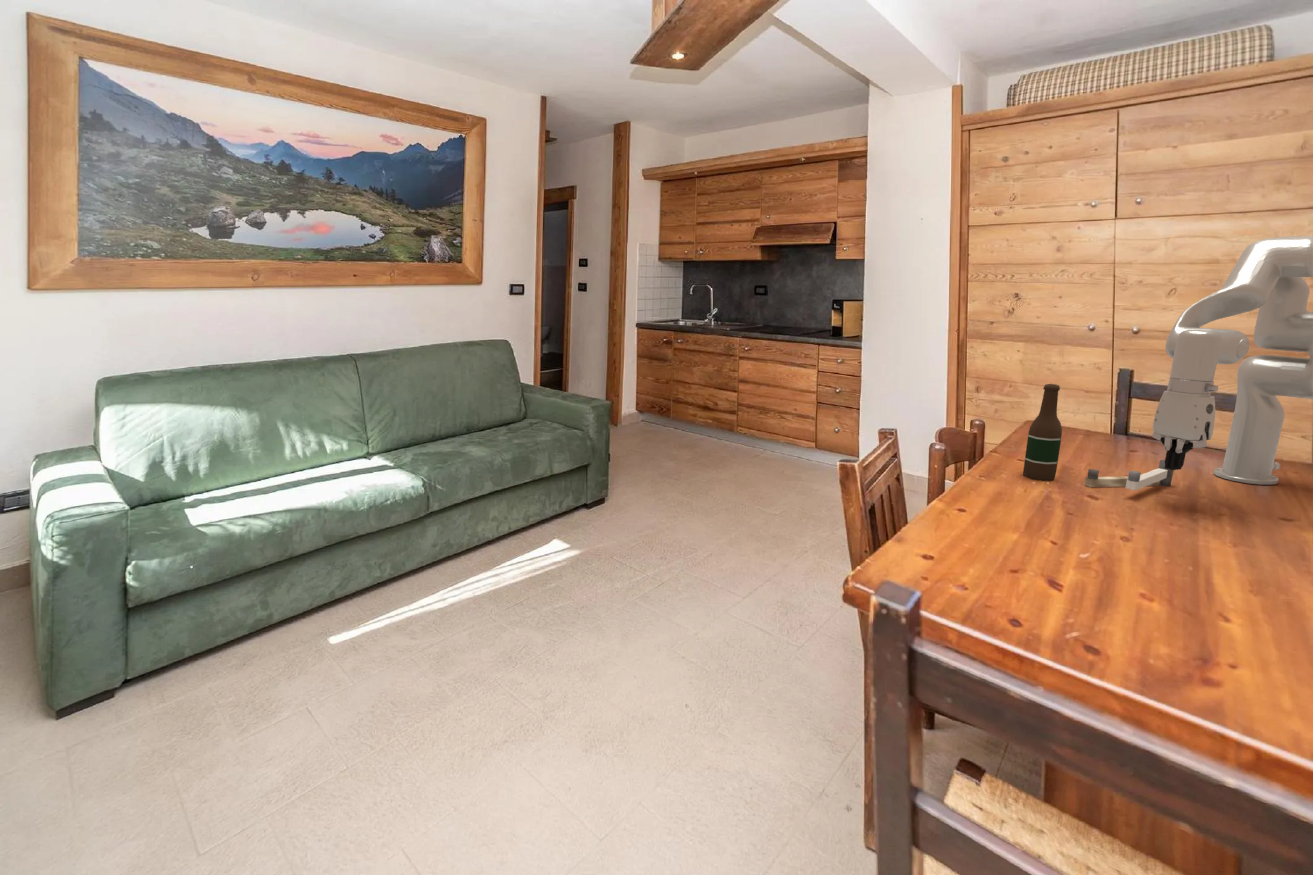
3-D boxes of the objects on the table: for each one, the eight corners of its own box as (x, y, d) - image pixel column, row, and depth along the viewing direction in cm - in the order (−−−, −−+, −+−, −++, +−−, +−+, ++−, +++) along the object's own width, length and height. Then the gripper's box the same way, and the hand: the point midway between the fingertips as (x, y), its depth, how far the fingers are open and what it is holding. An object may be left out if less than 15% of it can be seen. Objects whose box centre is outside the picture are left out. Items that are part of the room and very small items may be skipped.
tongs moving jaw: (1156, 475, 167) (1159, 460, 166) (1166, 478, 165) (1169, 462, 164) (1124, 488, 156) (1127, 471, 156) (1135, 490, 155) (1138, 473, 154)
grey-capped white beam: (1163, 482, 169) (1168, 459, 167) (1173, 486, 166) (1178, 462, 165) (1082, 484, 167) (1086, 460, 166) (1091, 487, 164) (1095, 464, 163)
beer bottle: (1061, 482, 169) (1075, 387, 163) (1027, 480, 170) (1040, 386, 165) (1049, 473, 176) (1063, 383, 170) (1017, 471, 178) (1030, 381, 172)
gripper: (1239, 392, 140) (1220, 476, 144) (1165, 382, 154) (1150, 459, 158) (1215, 393, 138) (1197, 479, 142) (1142, 383, 152) (1128, 461, 156)
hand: (1172, 468), depth 150 cm, fingers closed
